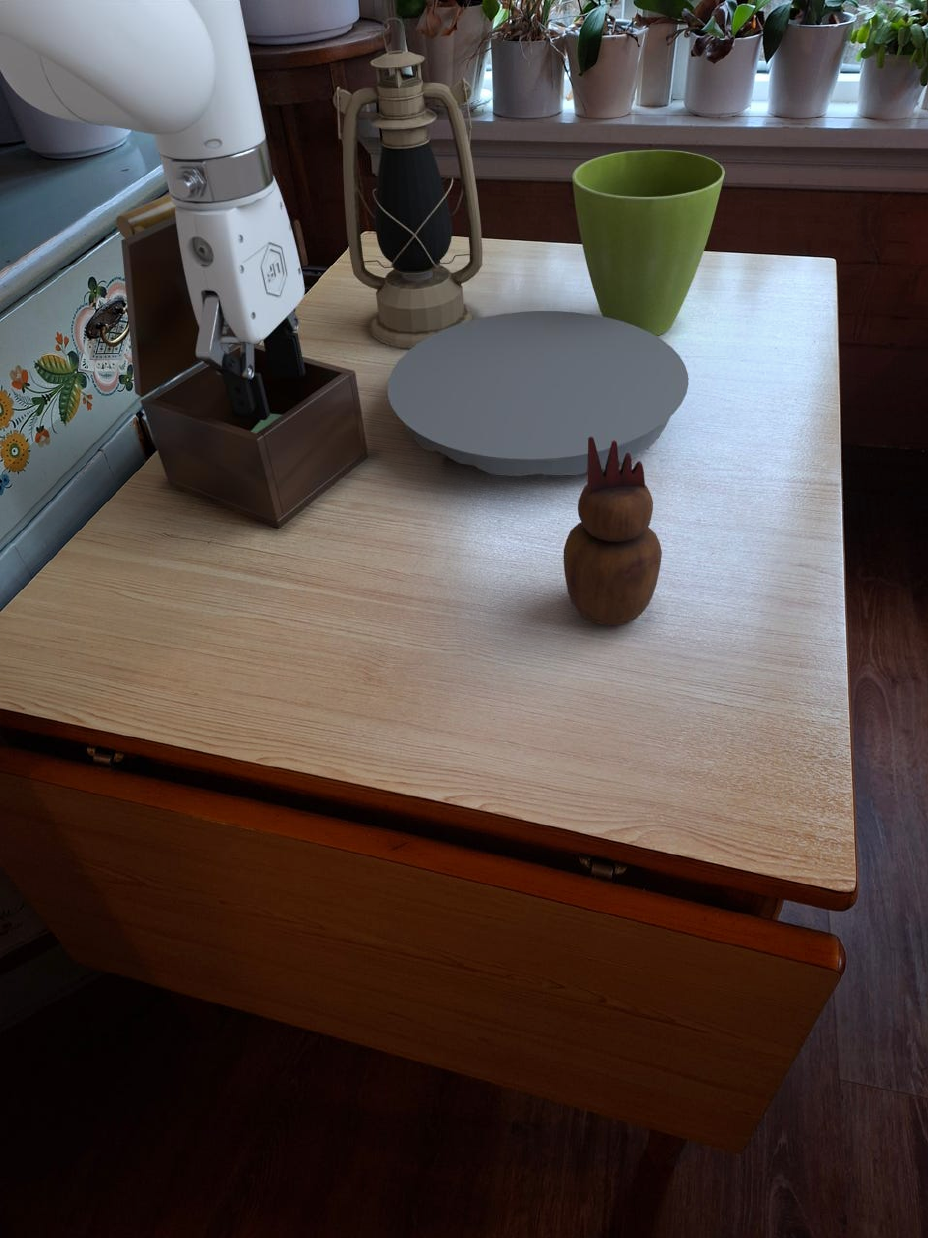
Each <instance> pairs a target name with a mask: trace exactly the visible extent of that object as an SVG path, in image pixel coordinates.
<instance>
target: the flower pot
mask: <svg viewBox="0 0 928 1238" xmlns="http://www.w3.org/2000/svg"><path fill="white" fill-rule="evenodd" d="M725 174H726V173H725V168H724V166H723V165H721V164H720V163H719V162H718V161H716V160H715V159H712V158H710V157H708V156H705V155H701V154H698V153H693V152H689V151H683V150H674V149H673V150H672V149H671V150H670V149H645V150H629V151H621V152H615V153H609V154H605V155H602V156H598V157H595V158H592V159H590V160H587V161H585V162H583V163H581V164H580V165H579V166H577V167H576V168H575V169H574V171H573V172H572V176H571V177H572V178H571V179H572V189H573V196H574V203H575V205H574V206H575V211H576V212H575V213H576V218H577V223H578V224H577V225H578V231H579V235H580V240H581V246H582V249H583V256H584V259H585V263H586V267H587V271H588V275H589V278H590V282H591V285H592V290H593V293H594V296H595V298H596V302H597V305H598V308H599V311H600V314H601V316H602V317H607V318H611V319H615V320H619V321H622V322H625V323H628V324H631V325H634V326H637V327H639V328H641V329H643V330H645V331H648V332H650V333H652V334H653V335H655V336H657V337H658V336H661V335H663V334H665V333H667V332H668V331H669V330H670V329H671V328H672V326H673V324H674V323H675V321H676V319H677V317H678V314H679V312H680V311H681V309H682V306H683V305H684V302H685V300H686V297H687V295H688V293H689V291H690V289H691V286H692V284H693V281H694V279H695V276H696V274H697V272H698V268H699V266H700V263H701V259H702V257H703V254H704V251H705V248H706V245H707V242H708V238H709V237H710V233H711V229H712V225H713V221H714V218H715V214H716V211H717V206H718V204H719V203H718V202H719V199H720V194H721V191H722V187H723V183H724V178H725Z"/></svg>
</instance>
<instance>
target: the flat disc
mask: <svg viewBox="0 0 928 1238" xmlns="http://www.w3.org/2000/svg"><path fill="white" fill-rule="evenodd" d="M386 389H387V397H388V400H389V404H390V407H392V409H393V411H394V413H395V414H396V415H397V417H398V418H399V419H400V420H401V421H402V422H403V423H404V425H405V427H406V430H407V431H408V432H409V434H410V435H411V436H412V438H413V439H414V440H415V442H416V443H417V444H418V446H420V447H421V448H422V449H425V450H427V451H429V452H436V451H438V452H439V453H440V454H443V455H445V456H446V457H447V458H449V459H451V460H453V461H455V463H457V464H460V465H468V466H472V467H476V468H477V469H479V470H481V471H483V472H486V473H488V474H490V475H496V476H497V475H498V476H510V477H513V476H518V477H523V476H531V475H536V474H539V475H541V474H542V475H544V476H578V475H582V474H587V469H588V438H589V437H593V439H594V442H595V446H596V449H597V453H598V457H599V460H600V464H601V468H602V470H604V469H605V467H606V463H607V459H608V455H609V451H610V447H611V443H612V441H616V442H617V450H618V460H619V463H623V460H624V458H625V455H626V453H630V455H631V459H635V458H638V457H639V456H640V455H641V454H642V453H643V452H645V451H646V450H648V449H650V448H651V446H653V445H654V444H655V442H657V441H658V440H659V439H660V437H661V435H662V433H663V432H664V430H666V427H667V425H668V423H669V421H670V419H671V417H672V416H673V415H674V414H675V413H676V411H677V410H678V409H679V408H680V407H681V406H682V404H683V402H684V400H685V398H686V396H687V393H688V389H689V373H688V371H687V366H686V364H685V363H684V361H683V360H682V358H681V356H680V355H679V354H678V352H676V350H675V349H674V348H673V347H672V346H670V345H669V344H668V343H667V342H666V341H664V340H663V339H662V338H660V337H658V336H655V335H653V334H652V333H650V332H648V331H645V330H643V329H641V328H639V327H637V326H634V325H631V324H628V323H625V322H622V321H619V320H615V319H611V318H607V317H602V315H598V314H591V313H585V312H584V313H583V312H577V311H576V312H575V311H563V310H562V311H561V310H530V311H515V312H506V313H500V314H495V315H489V316H485V317H479V318H476V319H475V318H474V320H471V321H468V322H465V323H461V324H458V325H455V326H452V327H450V328H447V329H445V330H442V331H440V332H438V333H436V334H434V335H432V336H430V337H428V338H426V339H425V340H423V341H421V342H420V343H418V344H417V345H415V346H414V347H413V348H411V349H409V350H408V351H406V352H405V353H404V354H403V356H402V357H400V359H398V361H397V362H396V364H395V365H394V367H393V368H392V370H391V372H390V375H389V377H388V382H387V387H386Z"/></svg>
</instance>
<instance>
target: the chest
mask: <svg viewBox="0 0 928 1238" xmlns="http://www.w3.org/2000/svg"><path fill="white" fill-rule="evenodd" d="M229 354H232V355H234V356H235V357H237V358H238V359H240V360H241V348H240V345H239V344H231V345H229ZM302 357H303V362H304V367H305V375H304V376H303V377H302V378H291V377H281V376H273V375H272V374H271V373H270V369H269V365H268V360H267V356H266V352H265V347H264V344H263V345H262V344H260V343H258V344H254V370H255V371H254V373H260V374H261V378H262V382H263V387H264V391H265V395H266V399H267V404H268V408H269V412H270V414H279V415H282V416H280V417H279V418H278V419H276V420H275V421H273V422H272V423H270V424H269V425H268V426H266V427H265V428H263V429H262V430H260V431H259V432H258V433H254V432H251V431H252V429H253V428H254V427H255V426H256V425H257V424H258V423H259V421H260V420H257V419H248V418H239V417H235V416H234V415H233V413H232V410H231V406H230V402H229V399H228V395H227V391H226V387H225V384H224V380H223V377H222V376H218V374H217V372H216V371H215V370H213V369H212V368H210V366H209V365H207V364H206V363H204V362H201V364H200V363H199V364H198V365H196V366H194V368H191V369H189V371H186V373H184V374H181V376H178V377H176V378H175V379H173V380H171V381H170V382H168V383H166V384H165V385H163V386H161V388H158V389H156V390H155V391H154V392H151V393H150V394H149V395H147V396H146V397H143V398H142V399H140V404H141V407H142V409H143V412H144V416H145V418H146V421H147V425H148V427H149V430H150V433H151V436H152V439H153V442H154V445H155V448H156V451H157V453H158V456H159V460H160V462H161V465H162V469H163V470H164V475H165V477H166V480H167V483H168V486H169V487H172V488H175V489H177V490H180V491H182V492H185V493H188V494H190V495H192V496H195V497H197V498H200V499H202V500H205V501H207V502H210V503H213V504H215V505H218V506H220V507H224V508H226V509H229V510H231V511H234V512H236V513H239V514H241V515H244V516H247V517H248V518H251V519H254V520H256V521H259V522H260V523H261V522H262V523H264V524H266V525H269V526H272V527H275V528H276V529H281V528H283V526H284V525H286V524H287V523H288V522H290V520H292V519H293V518H294V517H295V516H297V515H298V514H300V512H302V511H303V510H304V509H305V508H307V507H308V506H309V505H310V504H311V503H313V502H314V501H315V500H316V499H318V498H319V497H320V496H321V495H323V494H324V493H325V492H326V491H327V490H329V489H330V488H331V487H333V486H334V485H335V484H336V483H337V482H339V481H340V480H341V479H343V478H344V477H345V476H347V474H348V473H350V472H351V471H353V470H354V469H355V468H356V467H357V466H359V465H360V464H361V463H362V462H364V461H365V460H366V459H368V457H369V453H368V445H367V438H366V433H365V427H364V419H363V413H362V407H361V401H360V394H359V387H358V382H357V375H356V371H355V370H353V369H349V368H346V367H342V366H338V365H336V364H332V363H327V362H324V361H320V360H317V359H314V358H309V357H306V356H302Z"/></svg>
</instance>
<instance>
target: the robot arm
mask: <svg viewBox="0 0 928 1238" xmlns="http://www.w3.org/2000/svg"><path fill="white" fill-rule="evenodd" d="M241 6H242V5H241V2H240V0H0V73H1V74H2V76H3V77H4V79H5V81H6V82H7V84H8V85H9V86H10V87H11V89H12V90H13V91H14V92H15V93H16V94H17V95H18V96H19V97H20V98H21V99H22V100H24V101H25V102H26V103H28V105H31V106H32V107H33V108H36V109H37V110H39V111H40V112H43V113H45V114H46V115H50V116H52V117H55V118H57V119H63V120H66V121H72V122H78V123H83V124H89V125H95V126H107V127H113V128H118V129H122V130H128V131H134V132H137V133H144V134H150V135H153V136H154V140H155V144H156V147H157V151H158V154H159V158H160V161H161V167H162V169H163V172H164V173H163V174H164V176H165V180H166V184H167V187H168V192H169V194H170V195H171V199H172V202H173V204H175V205H176V208H175V216H176V224H177V232H178V239H179V245H180V251H181V257H182V262H183V267H184V272H185V277H186V282H187V286H188V291H189V295H190V299H191V302H192V306H193V310H194V313H195V317H196V320H197V323H198V325H199V328H200V329H199V335H198V340H197V346H196V356H197V358H198V359H200V360H201V361H202V363H206V364H207V365H209V366H210V368H212V369H213V370H215V371H216V372H217V374H218V376H222V377H223V380H224V384H225V387H226V391H227V395H228V399H229V402H230V406H231V410H232V413H233V415H234V416H235V417H239V418H248V419H257V420H266V419H267V418H268V417H269V416H270V412H269V408H268V404H267V399H266V395H265V391H264V387H263V382H262V378H261V374H260V373H254V371H255V370H254V344H260V343H262V342H263V343H262V344H263V346H264V347H265V352H266V356H267V360H268V365H269V369H270V373H271V374H272V375H273V376H281V377H291V378H302V377H303V376H304V375H305V367H304V362H303V357H304V356H303V352H302V347H301V342H300V338H299V332H297V331H298V330H299V326H300V322H299V318H298V316H297V313H296V309H297V306H298V305H299V304H300V303H301V302H302V300H303V298H304V296H305V292H306V289H305V283H304V282H305V281H304V276H303V271H302V268H301V267H302V266H301V262H300V257H299V253H298V249H297V245H296V241H295V237H294V233H293V230H292V226H291V225H292V224H291V221H290V218H289V215H288V210H287V208H286V205H285V202H284V198H283V195H282V193H281V190H280V187H279V185H278V183H277V181H276V178H275V175H274V173H273V166H272V162H271V156H270V152H269V147H268V146H269V145H268V142H267V136H266V131H265V125H264V120H263V116H262V115H263V114H262V110H261V105H260V100H259V94H258V89H257V84H256V80H255V74H254V69H253V64H252V59H251V58H252V57H251V53H250V48H249V42H248V38H247V31H246V27H245V23H244V16H243V11H242V7H241ZM229 327H230V328H231V329H232V331H233V332H234V334H235V335H228V334H227V329H228V328H229ZM229 344H230V345H234V344H239V345H240V348H241V360H240V359H238V358H237V357H235V356H234V355H232V354H229V347H230V345H229Z"/></svg>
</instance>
